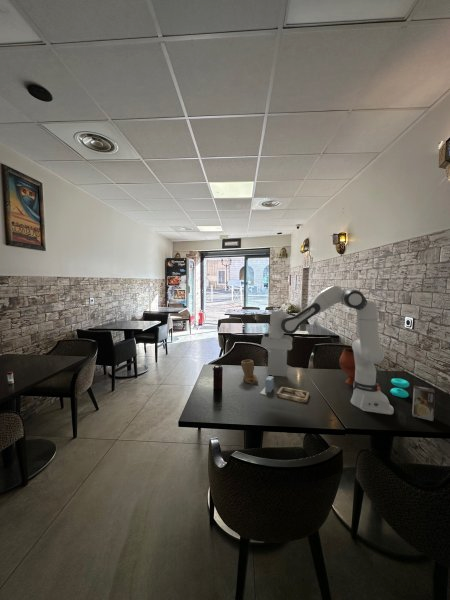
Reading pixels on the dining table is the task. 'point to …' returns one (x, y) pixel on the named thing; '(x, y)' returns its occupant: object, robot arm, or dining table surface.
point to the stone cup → (249, 371)
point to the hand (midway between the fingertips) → (276, 354)
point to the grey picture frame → (423, 403)
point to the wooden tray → (292, 396)
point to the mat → (263, 392)
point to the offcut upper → (299, 394)
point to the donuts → (398, 391)
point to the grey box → (277, 362)
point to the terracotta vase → (348, 364)
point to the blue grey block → (269, 384)
